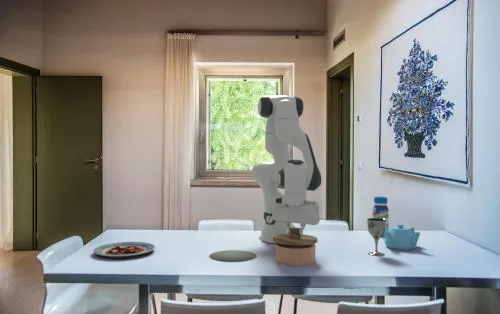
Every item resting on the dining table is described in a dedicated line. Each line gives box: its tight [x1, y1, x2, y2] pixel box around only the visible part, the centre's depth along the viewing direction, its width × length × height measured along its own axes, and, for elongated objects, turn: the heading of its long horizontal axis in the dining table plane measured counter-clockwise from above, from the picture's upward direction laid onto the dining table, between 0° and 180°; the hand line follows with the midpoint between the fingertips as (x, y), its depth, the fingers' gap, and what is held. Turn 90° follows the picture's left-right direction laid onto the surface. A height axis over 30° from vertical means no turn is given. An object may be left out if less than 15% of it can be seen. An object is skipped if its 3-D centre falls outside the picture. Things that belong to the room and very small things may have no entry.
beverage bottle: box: [371, 196, 390, 237], centre depth 222 cm, size 8×8×20 cm
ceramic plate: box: [93, 241, 156, 259], centre depth 181 cm, size 26×26×3 cm
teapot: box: [383, 223, 421, 251], centre depth 192 cm, size 15×15×11 cm
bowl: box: [274, 243, 316, 267], centre depth 169 cm, size 16×16×6 cm
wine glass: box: [366, 217, 386, 257], centre depth 179 cm, size 8×8×15 cm
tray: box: [208, 249, 258, 263], centre depth 174 cm, size 20×20×1 cm
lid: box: [273, 226, 319, 245], centre depth 169 cm, size 18×18×5 cm
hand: (295, 233), depth 169 cm, fingers closed on lid, 3 cm apart
